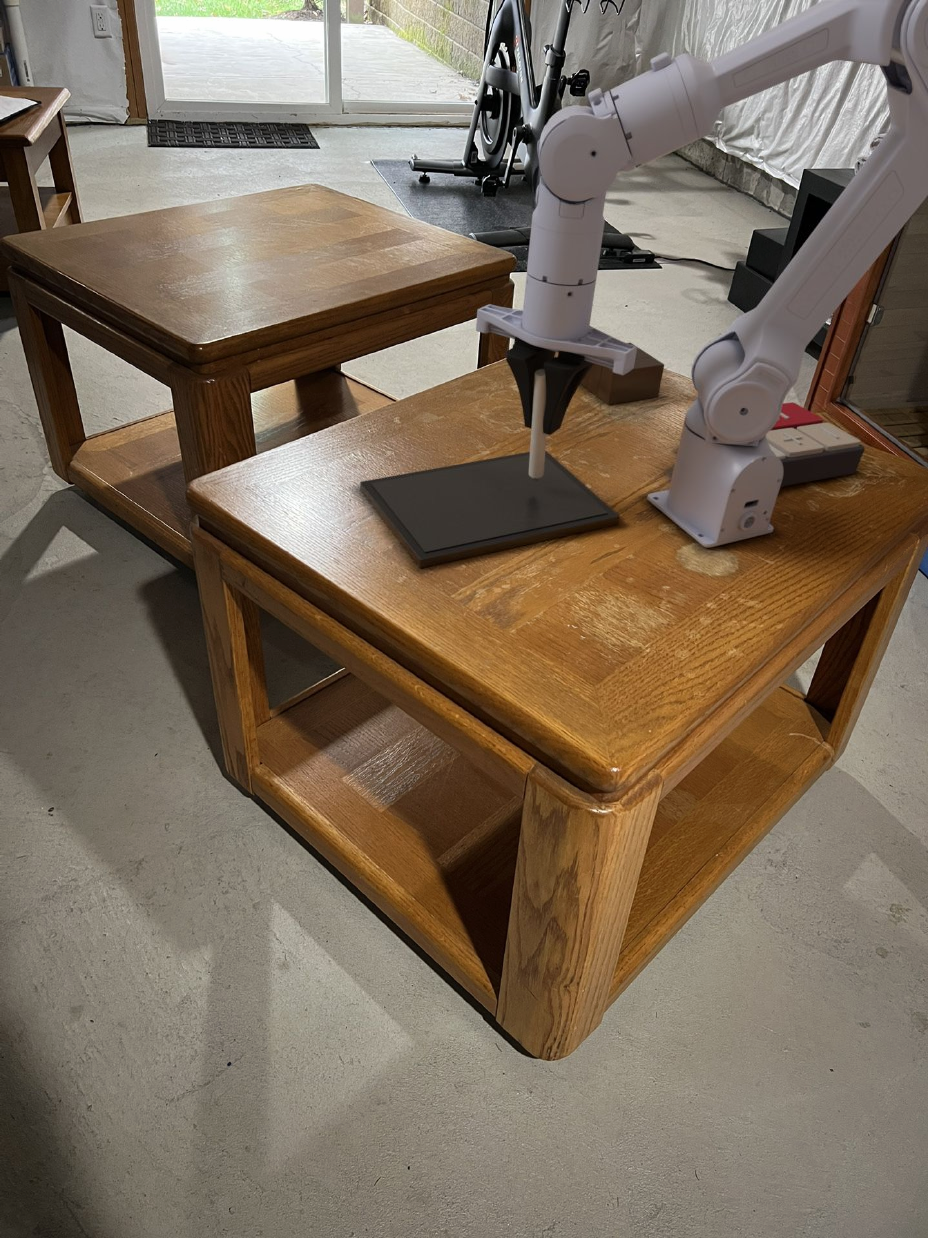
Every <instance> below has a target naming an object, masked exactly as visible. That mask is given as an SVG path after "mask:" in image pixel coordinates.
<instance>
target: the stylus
mask: <svg viewBox="0 0 928 1238" xmlns="http://www.w3.org/2000/svg"><path fill="white" fill-rule="evenodd" d="M545 406H546V379H545V371H544V369H539V370H537V371H536V372H535V378H534V395H533V411H532V427H531V431H530V445H529V452H530V459H529V476H530V477H532V479H533V480H534V481H537V480H539V479H540V478H541V477H542V476H543V475H544V462H545V451H546V448H547V447H546V446H547V435H548V434H545V433H543V420H544V413H545Z"/></svg>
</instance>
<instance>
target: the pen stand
mask: <svg viewBox="0 0 928 1238" xmlns="http://www.w3.org/2000/svg"><path fill="white" fill-rule="evenodd" d="M627 343H628V344H630V345H634V346H636V345H635V344H634V343H632V342H627ZM664 369H665V364H664V363H663V362H662V361H660V360H659V359H657V358H656V357H654V356H653V355H651V354H649V353H648V352H646V351H644V350H643V349H642V348H640V347H638V346H637V352H636V357H635V363H634V368H633V369H632V370H631V371H629V372H628V373H626V374H625V375H620V374H617V373H614V372H613V369H612V368H608V367H605V366H602V365H598V364H595V363H594V365H593V366H592V367H591V368H590V370H589V371H588V373H587V374H586V375H585V377H584V378H583V380H582V381H581V383H580V385H581V386H582V387H584V388H585V389H586V390H588V391H589V392H590V393H591V394H593V395H594V396H596V397H597V398H599V399H600V400H601V401H603V402H604V403H605V404H607V405H608V406H609V405H617V404H623V403H628V402H635V401H641V400H647V399H653V398H658V397H659V395H660V389H661V385H662V379H663V374H664Z"/></svg>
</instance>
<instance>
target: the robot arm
mask: <svg viewBox="0 0 928 1238" xmlns="http://www.w3.org/2000/svg"><path fill="white" fill-rule="evenodd" d="M835 61H843V62H850V63H851V62H852V63H861V64H867V65H873V66H874V65H875V66H879V68H880V70H881V72H882V75H883V76H884V79H885V82H886V83H885V84H886V92H887V93H886V94H887V101H888V109H889V111H888V112H889V120H890V127H889V128H888V131H887V132H886V133H885V134H884V136H883V137H882V139H881V140H880V141H879V143H878V144H877V145H876V147H875V148H874V149H873V150H872V152H871V154H869V156H868V157H867V159H866V160H865V162H864V163H863V164H862V165H861V167H860V168H859V170H858V171H857V172H856V173H855V175H854V176H853V178H852V179H851V180H850V182H849V183H848V184H847V185H846V187H845V188H844V189H843V191H841V193H840V195H839V196H838V198H837V199H836V200H835V201H834V203H833V204H832V205H831V207H830V208H829V209H828V211H827V212H826V213H825V215H824V216H823V217H822V218H821V220H820V222H819V223H818V224H817V226H816V227H815V228H814V230H813V231H812V232H811V233H810V235H809V236H808V238H807V239H806V240H805V242H804V243H803V244H802V246H801V247H800V248H799V250H798V251H797V252H796V254H795V255H794V256H793V258H792V259H791V261H790V262H789V263H788V265H786V267H785V268H784V270H783V271H782V272H781V274H780V275H779V276H778V278H777V279H775V282H774V283H773V284H772V285H771V287H770V289H769V290H768V291H767V293H766V294H765V296H763V298H762V299H761V300H760V302H759V303H758V304H757V306H756V307H754V308H753V309H751V310H749V311H747V312H745V313H743V314H741V315H739V316H737V317H736V318H735V319H734V320H733V322H732V323H731V324H730V326H729V327H728V328H727V329H726V330H725V331H724V332H723V333H722V334H721V335H719V336H718V337H716V338H714V339H712V340H710V341H709V342H708V343H706V344H705V345H703V346H702V348H701V349H699V351H698V352H697V353H696V355H695V357H694V358H693V359H694V360H693V362H692V365H691V371H690V372H691V373H690V375H691V376H690V378H691V382H692V385H693V387H694V390H695V391H696V392H697V395H696V396H697V397H696V398H695V400H694V402H693V403H692V404H691V406H690V407H689V408H688V410H686V413H685V415H684V416H685V417H684V421H683V426H682V430H681V434H680V439H679V444H678V448H677V452H676V456H675V461H674V466H673V469H672V470H673V471H672V475H671V479H670V484H669V489H665V490H661V491H656V492H652V493H649V494H647V497H646V499H647V501H648V502H649V503H651V504H652V505H653V506H654V507H656V508H657V509H658V510H659V511H661V512H662V513H663V514H664V515H665V516H667V517H668V518H669V519H670V520H671V521H672V522H673V523H675V524H676V525H677V526H679V528H681V529H682V530H683V531H684V532H686V533H687V534H688V535H689V536H691V537H692V538H693V539H694V540H695V541H696V542H698V543H699V544H700V545H701V546H703V548H713V547H718V546H722V545H725V544H729V543H730V544H731V543H734V542H738V541H743V540H746V539H750V538H755V537H758V536H763V535H767V534H771V533H773V532H774V529H775V528H774V525H772V524H771V523H770V522H771V518H772V515H773V512H774V509H775V505H776V502H777V499H778V495H779V492H780V490H781V489H780V486H781V482H782V479H783V473H784V471H783V464H782V462H781V460H780V459H779V458H778V457H777V456H776V455H775V454H774V452H773V451H772V450H771V448H770V446H769V444H768V442H767V437H766V434H767V433H768V432H769V431H770V430H771V429H772V428H773V427H774V425H775V424H776V422H777V421H778V419H779V416H780V413H781V409H782V405H783V403H784V401H785V399H786V397H787V395H788V394H789V393H790V391H791V389H792V388H793V387H794V386H795V384H796V383H797V382H798V379H799V376H800V372H801V368H802V363H803V358H804V356H805V355H804V354H805V351H806V348H807V347H808V345H809V344H810V342H811V341H812V340H813V339H814V337H815V336H816V335H817V334H818V333H819V331H820V330H821V329H822V328H823V327H824V325H825V324H826V322H828V321H829V319H830V317H832V315H833V314H834V313H835V312H836V310H837V309H838V307H840V305H841V304H842V303H843V302H844V300H845V299H846V298H847V297H848V295H849V294H850V293H851V292H852V290H854V288H855V287H856V286H857V284H858V283H859V281H860V280H861V279H862V278H863V277H864V276H865V274H866V273H867V272H868V270H869V269H870V268H871V267H872V265H874V263H875V262H876V260H877V259H878V258H879V257H880V256H881V254H882V253H883V252H884V250H885V249H886V248H888V246H889V244H890V243H891V242H892V241H893V240H894V238H895V237H896V236H897V234H898V233H899V232H900V230H902V228H903V227H904V225H906V223H907V222H908V221H909V220H910V218H912V216H913V214H914V213H915V212H916V211H917V209H919V207H920V206H921V205H922V203H923V202H924V201H925V200H926V199H927V197H928V0H821V1H820V2H817V3H815V4H814V5H812V6H810V7H809V8H807V9H804V10H802V11H801V12H799V13H797V14H795V15H793V16H791V17H790V18H788V19H786V20H784V21H782V22H781V23H779V24H777V25H775V26H773V27H771V28H769V29H768V30H765V31H763V32H762V33H760V34H758V35H756V36H755V37H752V38H751V39H748V40H747V41H746V42H745V41H744V42H743V43H742V44H740V45H738V46H736V47H734V48H732V49H730V50H728V51H727V52H725V53H723V54H721V55H719V56H717V57H715V58H714V59H712V60H710V61H705V60H702V59H701V58H699V57H696V56H694V55H693V54H690V53H687V52H683V53H681V54H679V55H677V56H675V57H673V58H671V56H670V54H669V53H668V52H666V51H664V52H662V53H660V54H658V55H657V56H654V57H653V58H650V60H649V63H650V67H651V69H649V70H647V71H645V72H643V73H641V74H639V75H637V76H635V77H633V78H631V79H629V80H627V81H625V82H623V83H621V84H619V85H617V86H615V87H613V88H611V89H610V90H607V91H605V92H603V91H602V88H601V87H598V88H596V89H593V90H592V91H590V92H589V93H587V97H588V101H589V103H590V106H591V107H590V106H589V105H588V106H587V105H580V104H575V105H568V106H565V107H563V108H562V109H560V110H557V111H556V113H554V114H553V115H551V117H550V118H549V119H548V121H547V122H546V124H545V125H544V126H543V129H542V131H541V134H540V137H539V139H538V140H537V144H536V151H537V158H538V167H539V171H540V176H539V184H538V185H537V187H536V190H535V204H536V206H535V209H534V210H533V212H532V215H531V226H530V237H529V244H528V245H529V246H528V255H527V266H526V277H525V278H526V279H525V287H524V288H525V289H524V297H523V305H522V306H523V308H522V309H516V308H509V307H504V306H498V305H494V304H490V303H489V304H487V305H484V306H482V307H480V308H477V310H476V311H477V312H476V324H475V331H476V332H478V333H482V334H488V333H493V334H495V335H499V336H502V337H506V338H509V339H513V340H514V342H513V344H512V347H511V348H509V349H508V350H506V352H505V353H506V354H505V361H506V363H507V364H508V366H509V368H510V371H511V372H512V375H513V378H514V381H515V383H516V386H517V391H518V393H519V398H520V403H521V408H522V414H523V424H524V427H525V428H527V429H531V427H532V411H533V395H534V378H535V372H536V371H537V370H539V369H544V371H545V379H546V406H545V413H544V420H543V433H545V434H547V435H548V436H551V435H553V434H554V433H556V432H557V431H558V430H560V429H561V426H562V424H563V421H564V418H565V415H566V413H567V411H568V408H569V406H570V404H571V401H572V400H573V397H574V395H575V394H576V391H577V390H578V388H579V387H580V385H581V384H580V383H581V381H582V380H583V378H584V377H585V375H586V374H587V373H588V371H589V370H590V368H591V367H592V366H593V365H594V363H595V364H598V365H602V366H605V367H608V368H612V369H613V372H614V373H617V374H620V375H625V374H626V373H628V372H629V371H631V370H632V369H633V368H634V363H635V357H636V352H637V347H638V346H637V345H635V344H633V345H630V344H628V343H629V342H625V341H623V340H620V339H618V338H616V337H614V336H612V335H610V334H607V333H605V332H603V331H601V330H599V329H597V328H595V327H593V326H591V319H592V311H593V306H594V305H593V304H594V298H595V291H596V286H597V285H596V284H597V276H598V271H599V264H600V257H601V250H602V244H603V237H604V230H605V222H606V220H605V219H606V218H605V217H604V210H605V203H606V197H607V196H606V195H607V191H608V190H609V189H610V188H611V186H612V185H613V183H614V182H615V179H616V177H617V175H618V173H621V172H625V173H630V172H633V171H635V170H637V169H639V168H641V167H643V166H646V165H648V164H650V163H652V162H654V161H656V160H658V159H660V158H663V157H665V156H667V155H670V154H671V153H673V152H675V151H678V150H680V149H681V148H683V147H686V146H687V145H691V144H693V143H694V142H697V141H698V140H701V139H703V138H705V137H707V136H709V135H710V134H711V132H712V130H713V128H714V126H715V124H716V122H717V120H718V118H719V116H720V114H721V112H722V111H723V110H724V109H725V108H726V107H729V106H731V105H733V104H736V103H738V102H741V101H743V100H745V99H747V98H750V97H752V96H754V95H757V94H759V93H762V92H764V91H766V90H768V89H771V88H774V87H775V86H778V85H780V84H783V83H786V82H787V81H790V80H792V79H795V78H797V77H799V76H801V75H804V74H807V73H809V72H811V71H813V70H816V69H818V68H821V67H823V66H825V65H828V64H829V63H832V62H835ZM634 345H635V346H634ZM556 353H557V356H556Z"/></svg>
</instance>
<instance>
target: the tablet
mask: <svg viewBox="0 0 928 1238" xmlns="http://www.w3.org/2000/svg"><path fill="white" fill-rule="evenodd" d="M529 459H530V451H526V452H521V453H515V454H510V455H503V456H498V457H492V458H487V459H481V460H476V461H470V462H464V463H459V464H452V465H448V466H442V467H437V468H430V469H425V470H419V471H413V472H408V473H402V474H397V475H391V476H385V477H378V478H375V479H369V480H362V481H360V482H359V488H360V489H359V490H360V492H361V493H362V494H363V496H364V497H365V498H366V499H367V501H368V502H369V504H370V505H371V506H372V507H373V509H374V510H375V511H376V513H377V514H378V515H379V516H380V518H381V519H382V521H383V522H384V523H385V524H386V526H387V527H388V528H389V530H390V531H391V532H392V534H393V535H394V536H395V537H396V540H397V541H399V543H400V544H401V545H402V547H403V548H404V550H405V551H406V552H407V553H408V555H409V556H410V557H411V559H412V560H413V561H414V563H415V564H416V565H417V566H418V568H419V569H424V568H427V567H433V566H436V565H442V564H446V563H451V562H455V561H459V560H463V559H464V560H465V559H468V558H473V557H479V556H481V555H486V554H490V553H496V552H500V551H505V550H510V549H514V548H518V547H523V546H528V545H533V544H537V543H541V542H546V541H550V540H554V539H559V538H563V537H567V536H572V535H577V534H581V533H586V532H591V531H596V530H599V529H604V528H608V527H613V526H617V525H619V522H620V518H621V517H620V515H619V514H618V513H617V512H615V510H613V509H612V508H611V507H610V506H609V505H608V504H606V503H605V502H604V501H603V500H602V499H601V498H599V497H598V496H597V494H595V492H593V491H592V490H591V489H590V488H589V487H587V486H586V485H585V484H584V483H583V482H582V481H581V480H580V479H578V478H577V477H576V476H575V475H574V474H573V473H572V472H571V471H569V470H568V468H566V467H565V466H564V465H563V464H562V463H560V462H559V460H557V459H556V458H555V457H553V455H551V454H550V452H548V451H547V450H545V462H544V475H543V476H542V477H541V478H540V479H539V480H537V481H534V480H533V479H532V477H530V476H529Z"/></svg>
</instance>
